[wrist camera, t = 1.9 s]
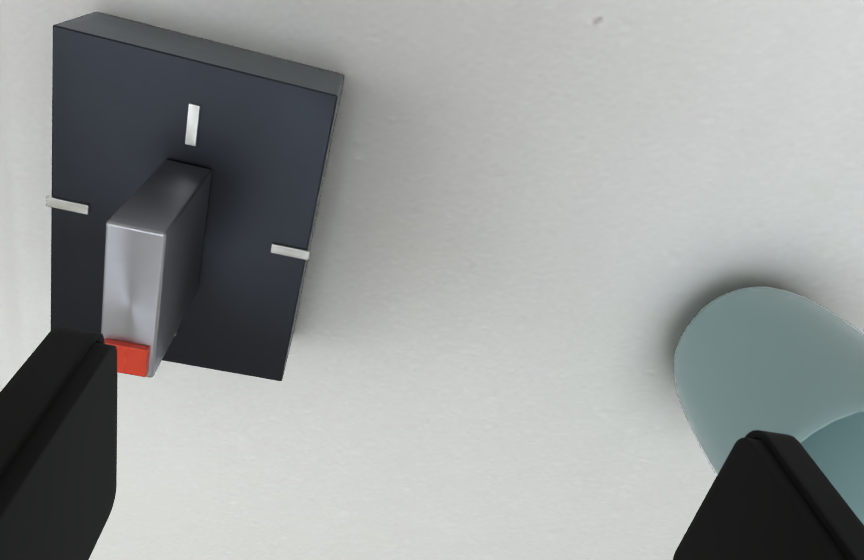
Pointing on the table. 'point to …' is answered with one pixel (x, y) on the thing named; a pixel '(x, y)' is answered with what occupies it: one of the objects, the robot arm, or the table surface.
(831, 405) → the cup
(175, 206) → the tap knob
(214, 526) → the table surface
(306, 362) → the table surface
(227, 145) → the plate
